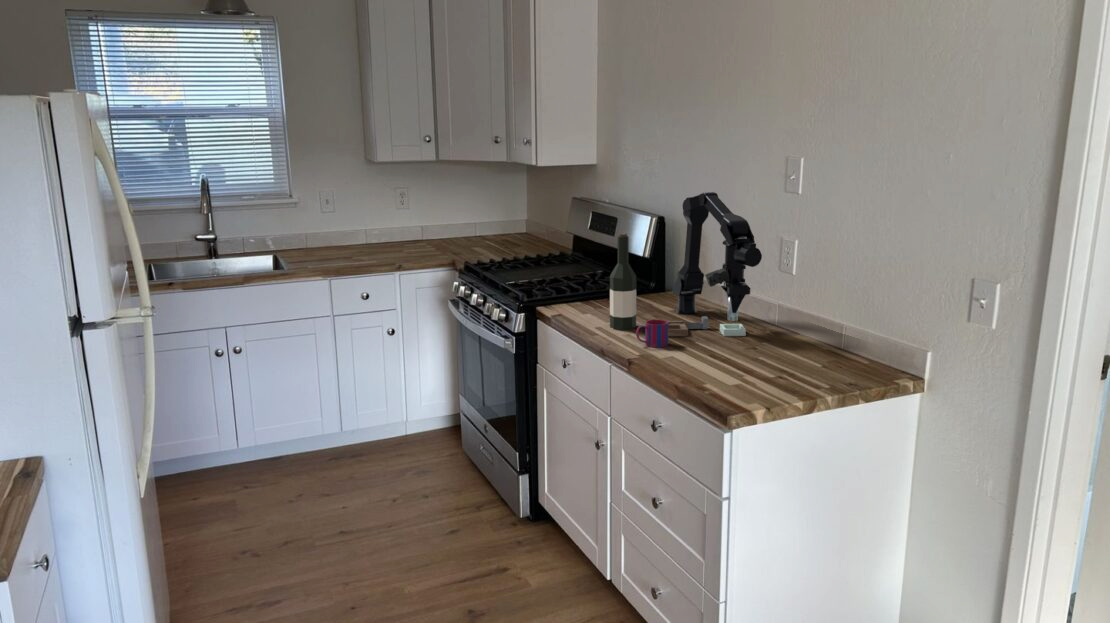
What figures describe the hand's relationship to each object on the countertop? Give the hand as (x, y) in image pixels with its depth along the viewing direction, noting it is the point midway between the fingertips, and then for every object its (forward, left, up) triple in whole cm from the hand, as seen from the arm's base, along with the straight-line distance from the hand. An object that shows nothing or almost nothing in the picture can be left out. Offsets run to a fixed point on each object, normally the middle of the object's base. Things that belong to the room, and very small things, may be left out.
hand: (732, 311), depth 250 cm
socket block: (-3, -18, -7) cm, 19 cm away
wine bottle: (-9, -33, -7) cm, 35 cm away
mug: (+12, -26, -7) cm, 29 cm away
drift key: (-6, -13, -7) cm, 16 cm away
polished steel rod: (0, 0, -3) cm, 2 cm away
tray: (0, 0, -7) cm, 7 cm away
